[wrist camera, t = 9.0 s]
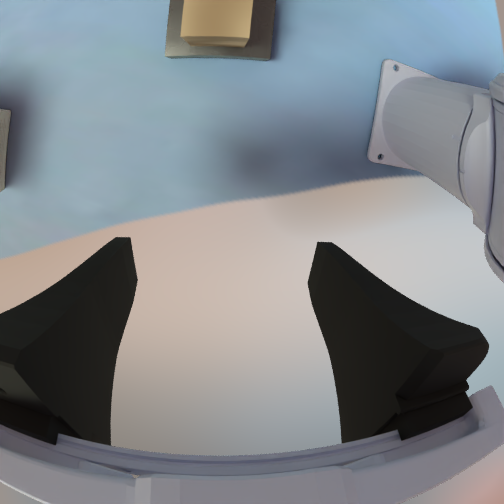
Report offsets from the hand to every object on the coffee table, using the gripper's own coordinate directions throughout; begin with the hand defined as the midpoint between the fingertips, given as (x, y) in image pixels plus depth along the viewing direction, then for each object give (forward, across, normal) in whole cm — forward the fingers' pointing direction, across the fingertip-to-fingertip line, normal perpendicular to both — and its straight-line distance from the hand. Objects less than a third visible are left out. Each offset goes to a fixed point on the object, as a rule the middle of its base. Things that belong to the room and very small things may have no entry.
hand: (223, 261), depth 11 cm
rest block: (+10, +1, -10) cm, 15 cm away
